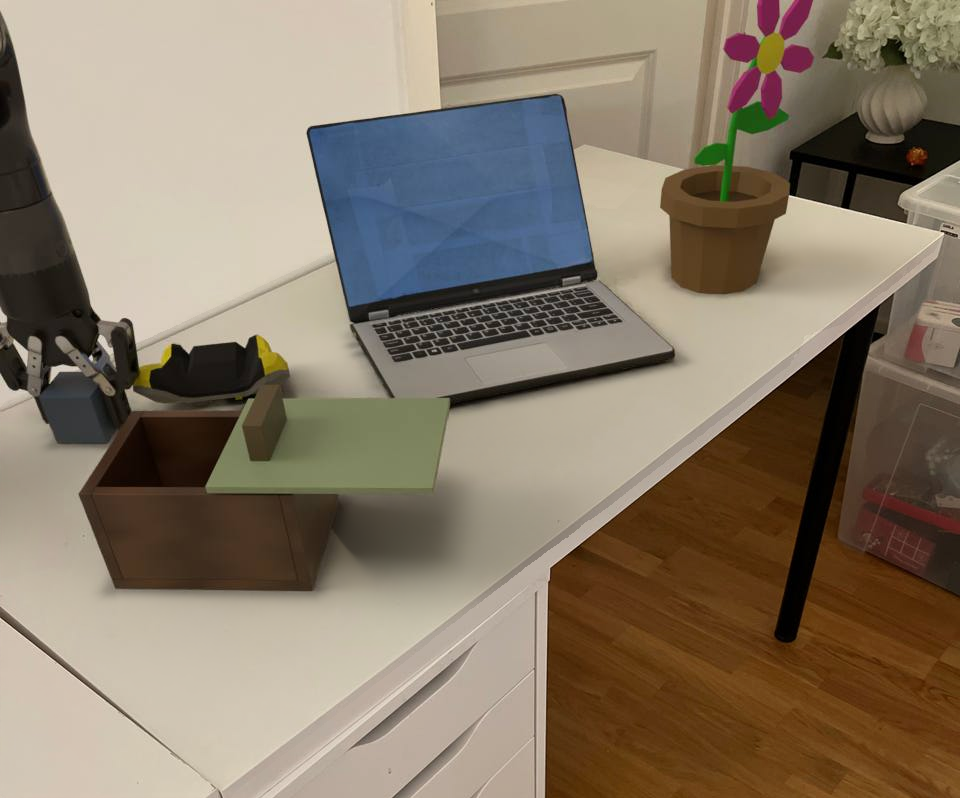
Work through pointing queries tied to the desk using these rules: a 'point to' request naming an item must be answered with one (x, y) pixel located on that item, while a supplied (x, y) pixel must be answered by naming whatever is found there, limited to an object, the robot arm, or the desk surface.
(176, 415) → the storage box
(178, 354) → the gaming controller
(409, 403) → the cover
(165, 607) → the desk surface
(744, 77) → the flowerpot
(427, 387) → the laptop
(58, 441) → the block
